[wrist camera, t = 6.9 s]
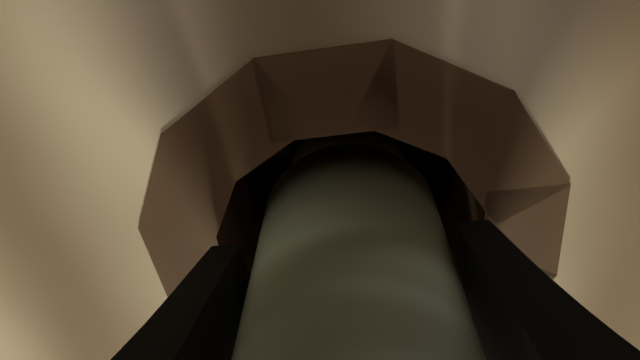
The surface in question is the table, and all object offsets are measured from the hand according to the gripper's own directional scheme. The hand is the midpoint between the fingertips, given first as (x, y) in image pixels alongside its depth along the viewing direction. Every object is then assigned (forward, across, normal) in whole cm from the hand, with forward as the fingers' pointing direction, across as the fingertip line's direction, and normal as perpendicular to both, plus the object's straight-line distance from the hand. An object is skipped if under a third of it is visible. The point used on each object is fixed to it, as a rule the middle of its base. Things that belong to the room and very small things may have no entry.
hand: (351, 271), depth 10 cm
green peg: (+4, 0, 0) cm, 4 cm away
